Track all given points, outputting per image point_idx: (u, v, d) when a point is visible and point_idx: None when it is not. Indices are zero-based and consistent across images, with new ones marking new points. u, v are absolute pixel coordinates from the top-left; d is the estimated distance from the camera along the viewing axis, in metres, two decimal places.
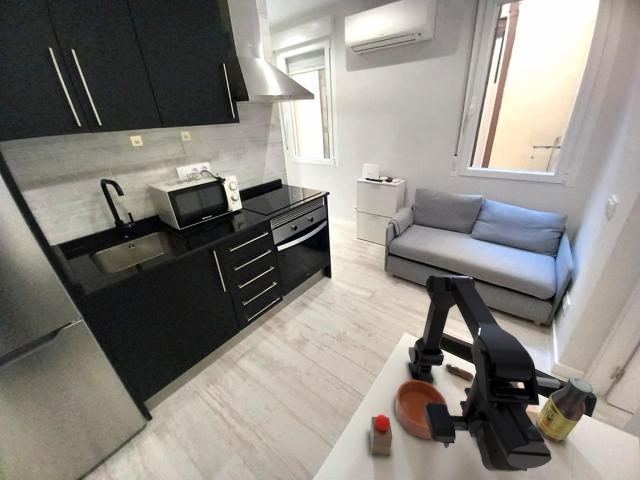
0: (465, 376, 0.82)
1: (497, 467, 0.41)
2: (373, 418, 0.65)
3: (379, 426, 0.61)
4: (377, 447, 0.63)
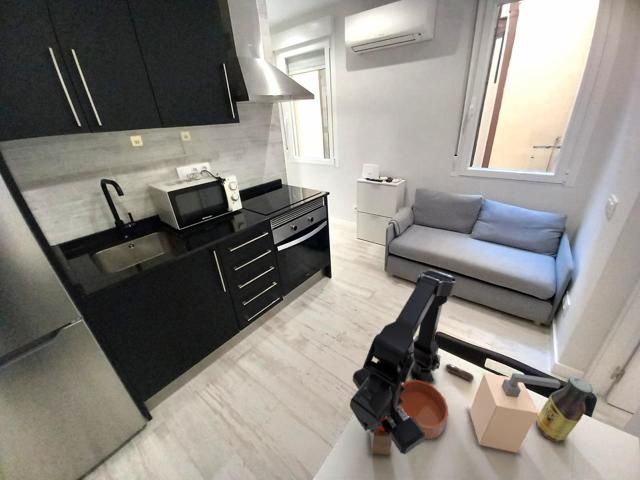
0: (465, 377, 0.81)
1: (351, 406, 0.56)
2: None
3: None
4: (377, 447, 0.63)
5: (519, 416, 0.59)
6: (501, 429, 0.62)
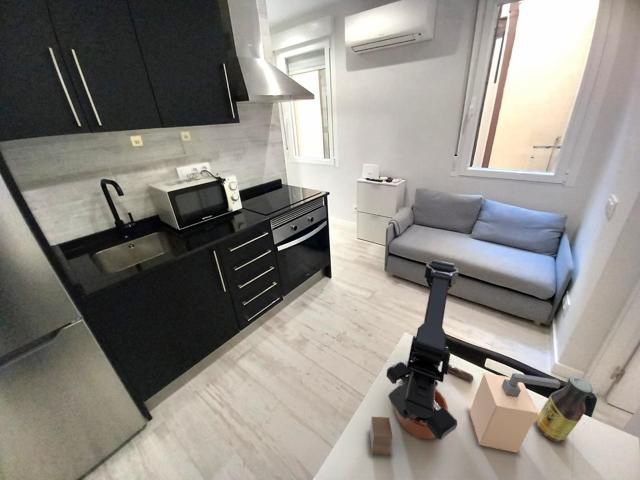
0: (464, 378, 0.81)
1: (390, 397, 0.63)
2: (373, 418, 0.65)
3: None
4: (377, 447, 0.63)
5: (519, 416, 0.59)
6: (501, 429, 0.62)
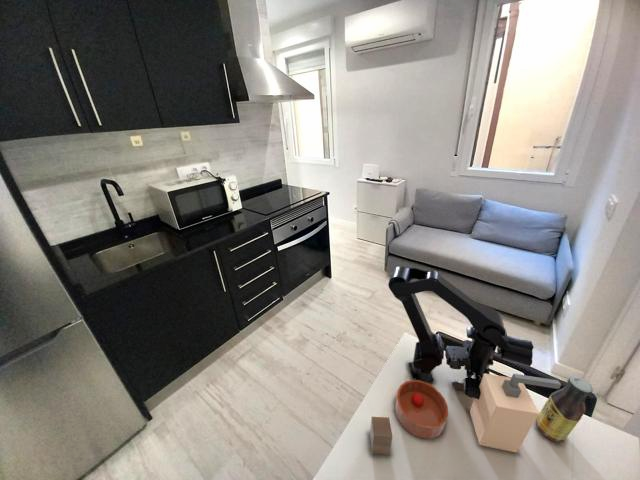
0: (460, 383, 0.79)
1: (446, 347, 0.78)
2: (373, 418, 0.65)
3: (422, 397, 0.74)
4: (377, 447, 0.63)
5: (519, 416, 0.59)
6: (501, 429, 0.62)
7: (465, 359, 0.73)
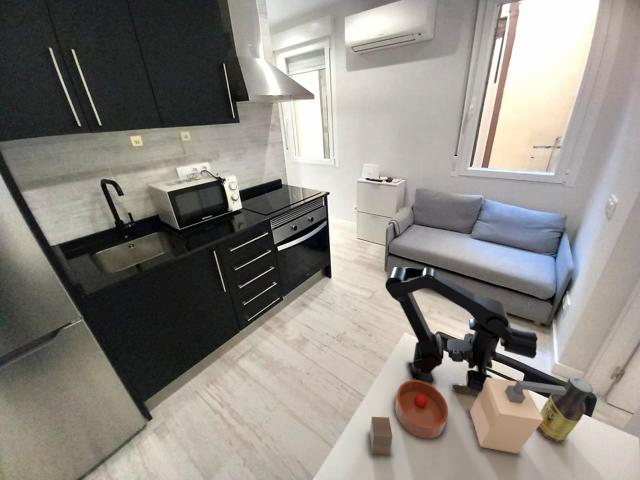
0: (461, 388, 0.77)
1: (448, 340, 0.77)
2: (373, 418, 0.65)
3: None
4: (377, 447, 0.63)
5: (522, 422, 0.58)
6: (503, 434, 0.61)
7: (467, 352, 0.72)
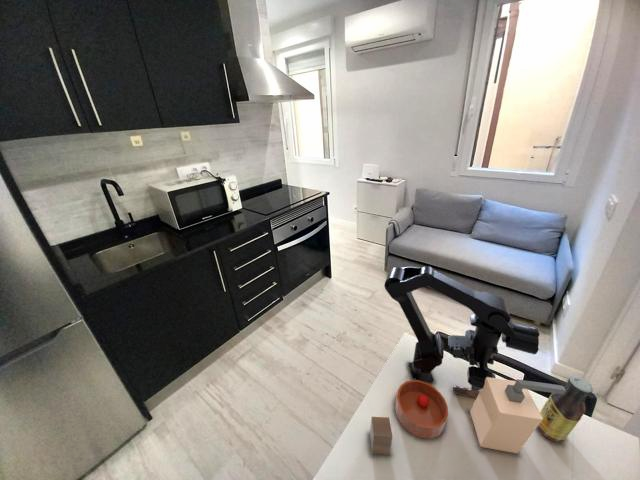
0: (461, 394, 0.77)
1: (449, 337, 0.77)
2: (373, 418, 0.65)
3: None
4: (377, 447, 0.63)
5: (522, 422, 0.58)
6: (503, 433, 0.61)
7: (469, 348, 0.71)
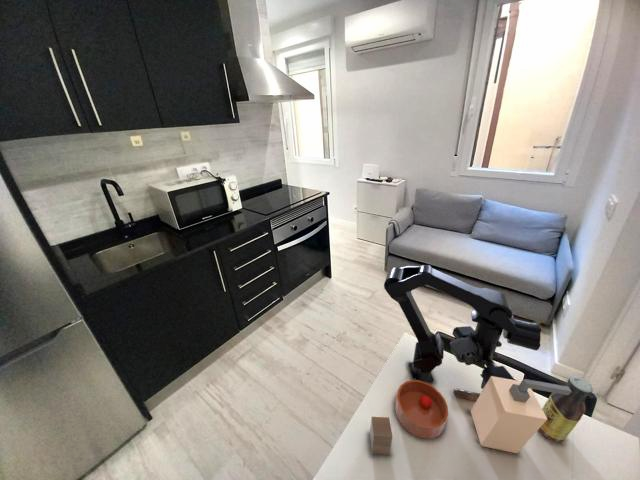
0: None
1: (451, 344, 0.72)
2: (373, 418, 0.65)
3: None
4: (377, 447, 0.63)
5: (526, 421, 0.58)
6: (506, 433, 0.61)
7: (476, 350, 0.69)
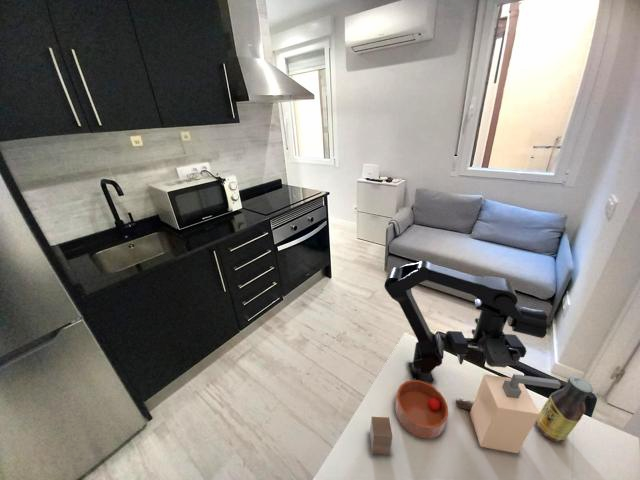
0: None
1: (496, 361, 0.62)
2: (373, 418, 0.65)
3: None
4: (377, 447, 0.63)
5: (520, 417, 0.58)
6: (502, 430, 0.61)
7: (503, 342, 0.66)
